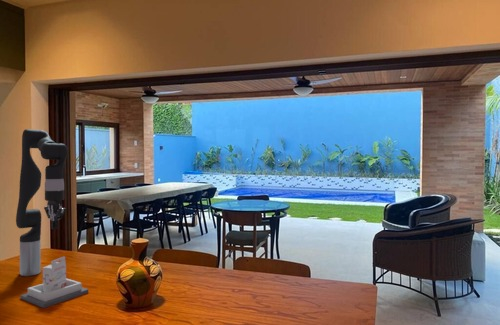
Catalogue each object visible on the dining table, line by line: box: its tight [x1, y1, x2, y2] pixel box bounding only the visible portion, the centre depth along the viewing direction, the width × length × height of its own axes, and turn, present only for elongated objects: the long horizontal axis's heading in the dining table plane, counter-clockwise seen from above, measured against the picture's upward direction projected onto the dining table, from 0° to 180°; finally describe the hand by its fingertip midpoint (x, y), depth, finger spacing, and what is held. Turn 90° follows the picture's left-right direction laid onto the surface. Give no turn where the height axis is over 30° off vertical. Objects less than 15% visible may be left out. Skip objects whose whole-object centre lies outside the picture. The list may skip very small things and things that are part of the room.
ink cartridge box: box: [42, 256, 67, 293], centre depth 163 cm, size 9×5×15 cm, turn 166°
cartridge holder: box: [20, 277, 89, 309], centre depth 163 cm, size 18×20×4 cm
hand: (54, 228), depth 163 cm, fingers closed
